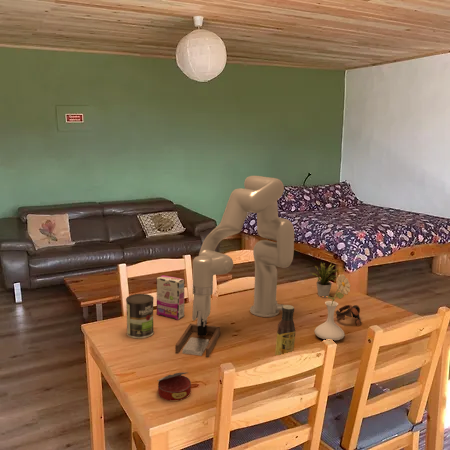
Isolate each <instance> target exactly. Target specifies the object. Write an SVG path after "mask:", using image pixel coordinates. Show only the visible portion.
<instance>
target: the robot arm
mask: <svg viewBox="0 0 450 450" xmlns="http://www.w3.org/2000/svg"><path fill="white" fill-rule="evenodd" d="M284 190H285V186H284V183H283V182H282V180H281V179H279V178H276V177H268V176H261V175H249V176H247V177H246V178H245V180H244V188H241V187H239V188H235V189H233V190H232V192H231V193H230V196H229V197H228V198H229V199H228V201H227V203H226V205H225V206H226V207H225V210H224V212H223V214H222V217H221V221H220V222H219V224H218V225H217V226H216V227H215V228H213V229H212V230H211V231H210V233H208V234H207V235H206V237H205V238H204V240H203V242H202V245H201V247H200V250H199V253H198V256H195V257H194V258H193V260H192V295H193V301H192V316H191V317H192V319H191V320H192V321H193V322H195V321H196V320H197V322H196V324H197V325H198V333H197V336H198V337H206V336H207V335H208V334H207V323H208V317H209V316H210V313H211V310H212V309H211V304H212V303H211V301H212V299H211V297H212V295H213V293H214V276H217V275H218V276H219V275H226V274H228V273H229V272H231V271H232V269H233V267H234V260H233V259H232V257H231V256H229V255H227V254H224V253H222V252H218V251H216V249H217V247H218V245H219V244H220V242H221V241H222V240H224V239H226V238H228V237H231V236H233V235H236V234H239V233H241V231H242V230H243V229H242V228H243V227H244V224H245V220H246V218H247V215H248V212H249V213H254V214H256V222H257V223H256V228H257V229H256V230H257V234H258V236H260V237H261V238H264V239H260V240H258V241H257V242H256V243H255V244H254V246H253V250H252V251H253V261H254V290H253V291H254V294H253V305H251V306H250V308H249V311H250V313H251V314H252V315H254V316H257V317H262V318H272V317H275V316H277V315H279V313H280V311H282V306H283V305H284V304H279V303H278V300H277V287H278V286H277V285H278V270H277V267H278V268H283V269H285V268H288V267H289V266H291V265H292V262H293V260H294V253H295V251H294V249H295V227H294V225H293V223H292V222H291V220H289V219H287V218H283V217H279V209H278V200H279V199H281V197H282V196H283V194H284ZM266 239H267V240H266ZM271 240H272V241H271Z"/></svg>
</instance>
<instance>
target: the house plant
mask: <svg viewBox="0 0 450 450" xmlns="http://www.w3.org/2000/svg"><path fill="white" fill-rule="evenodd" d="M325 265H326V263H325V262H323V263H322V262H320V269H319V268H318V266H317V265H314V267H315V270H316V271H317V273H318V274H316V272H314V273H312V275H314V276H316V277H317V282H316V288H317V289H316V290H317V291H316V292H317V296H318V295H319V296H318V297H320V296H324V297H323V298H327V297H326V296H330V293H331V288H332V285H333V284H332V282H330V281H331V280H332V281H333V282H335V281H336V280H335V279H337V278H338V275H339V274H338V275H337V274H336V275H334V274H333V273H339V272H340V269H338V268H336V269H333V268H334V267H335V266H336V265H335V264H333V265H332V262H331V263H330V264H329V266H328V267H327V268H326V266H325Z"/></svg>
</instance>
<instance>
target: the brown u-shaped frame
mask: <svg viewBox="0 0 450 450" xmlns="http://www.w3.org/2000/svg"><path fill="white" fill-rule="evenodd" d="M206 325H207V324H206ZM192 333H196V334H198V325H197V323H189V325H188V326H187V328H186V329H185V331H184V332H183V334H182V335H181V337H180V338H179V340H178V341H177V343H176V344H175V346H174V347H175V354H179V353H180V351H181V350H182V349H183V348H184V346H185V345H186V343H187V340H189V338H190V336H191V334H192ZM206 335H212V336H211V339H209V344H208V346H207V347H206V349H205V357H206V358H209V357H210V355H211V353H212V351H213V349H214V347H215V346H216V345H215V344H216V343H217V341H218V339H219V337H220V336H221V326H215V325H209V324H208V325H207V334H206Z"/></svg>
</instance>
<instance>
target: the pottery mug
mask: <svg viewBox="0 0 450 450" xmlns="http://www.w3.org/2000/svg"><path fill="white" fill-rule="evenodd" d="M360 312H361V309H360V307H359V305H357V304H356V305H353V306H352V305H351V304H345V305H343V306H342V307H340V308H339V309H337V310H336V311H335V314H336V319H337V320H343V321H345V318H346V317H347V318H348V317H349V318H354V319H357V320H356V321H355V323H356V326H357V325H360V326H361V325H362V320H361V317H360Z"/></svg>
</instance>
